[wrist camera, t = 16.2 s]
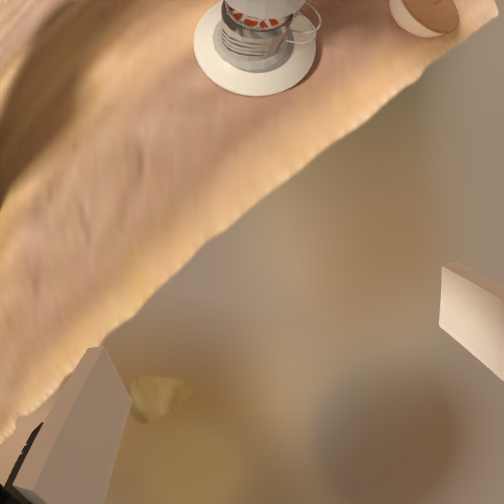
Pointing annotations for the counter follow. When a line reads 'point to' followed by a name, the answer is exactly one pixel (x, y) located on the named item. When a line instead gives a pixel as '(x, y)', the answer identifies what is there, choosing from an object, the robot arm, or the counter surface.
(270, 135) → the counter surface
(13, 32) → the counter surface
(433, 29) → the lidded jar
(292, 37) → the disc
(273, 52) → the french press
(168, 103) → the counter surface
